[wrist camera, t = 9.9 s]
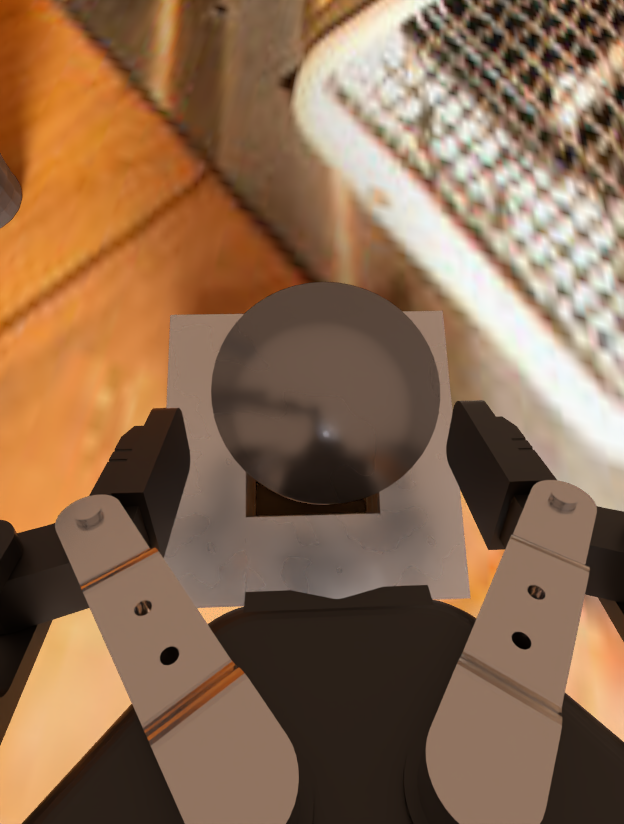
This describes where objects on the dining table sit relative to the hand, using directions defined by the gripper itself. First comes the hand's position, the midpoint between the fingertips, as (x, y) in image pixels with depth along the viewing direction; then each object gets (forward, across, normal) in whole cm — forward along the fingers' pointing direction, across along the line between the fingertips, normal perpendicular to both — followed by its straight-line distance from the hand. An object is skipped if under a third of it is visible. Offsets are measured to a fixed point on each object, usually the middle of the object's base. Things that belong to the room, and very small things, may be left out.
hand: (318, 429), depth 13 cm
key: (+6, 0, +6) cm, 9 cm away
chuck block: (+7, 0, +6) cm, 9 cm away
